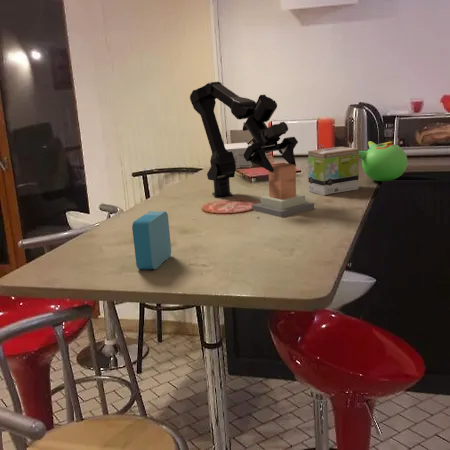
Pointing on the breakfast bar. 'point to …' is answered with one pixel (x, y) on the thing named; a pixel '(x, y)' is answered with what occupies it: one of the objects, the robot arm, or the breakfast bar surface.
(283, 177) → the terracotta block
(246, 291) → the breakfast bar surface
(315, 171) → the tea box
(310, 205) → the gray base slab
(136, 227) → the data package
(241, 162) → the supplement box
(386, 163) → the green rounded body
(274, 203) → the sage top slab
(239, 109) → the robot arm
